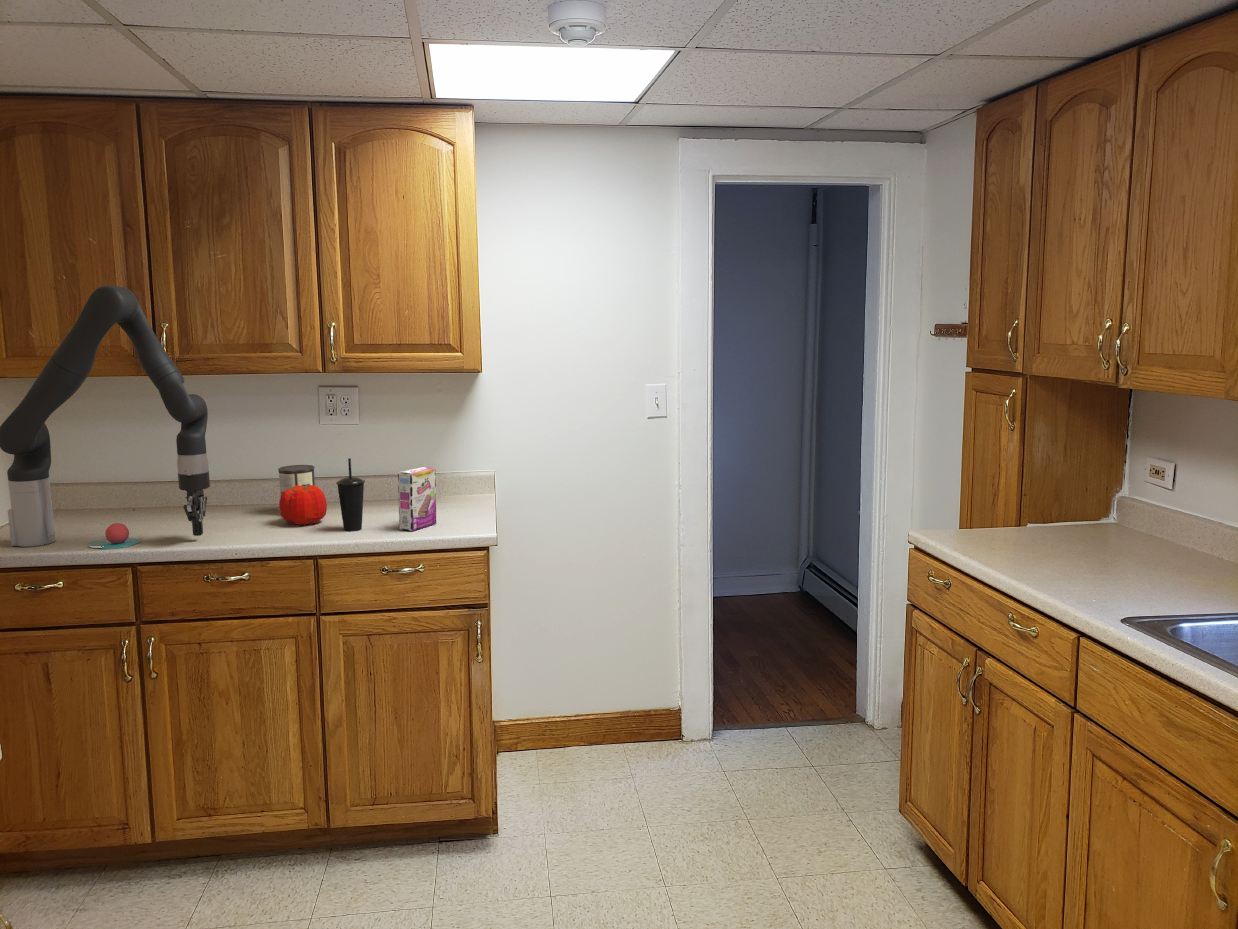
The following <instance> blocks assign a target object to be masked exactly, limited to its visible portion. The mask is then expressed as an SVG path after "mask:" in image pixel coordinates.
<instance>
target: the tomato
mask: <svg viewBox="0 0 1238 929" xmlns="http://www.w3.org/2000/svg"><path fill="white" fill-rule="evenodd" d="M278 503H279V504H278V506H279V514H280V515H281V518H282V519H283V520H284V521H286V522H287V523H289V524H296V525H299V526H304V525H305V526H306V525H307V524H311V525H312V524H316V523H318V522H320V521H321V520H323V519H324V518H325V516H326V514H327V511H328V503H327V498H326V496H325V494H324V492H323V491H322V489H321V488H320V487H318V486H316V485H315V486H313V485H309V486H308V487H306V486H300V485H297V486H295V487H292V488H290V489H287V490H285V491H283V493H282V494H281V495H280V496H279V502H278Z"/></svg>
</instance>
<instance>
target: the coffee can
mask: <svg viewBox="0 0 1238 929" xmlns="http://www.w3.org/2000/svg"><path fill="white" fill-rule="evenodd" d="M315 477H316V476H315V466H314V465H310V464H296V465H295V464H292V465H285V466H284V465H283V466H280V467H279V468H278V478H279V493H280V496H281V494H282V493H283V491H285V490H287V489H290V488H292V487H295V486H297V485H300V486H306V487H308V486H309V485H313V486H316V481H315V480H316V479H315Z"/></svg>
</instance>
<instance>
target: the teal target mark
mask: <svg viewBox="0 0 1238 929" xmlns="http://www.w3.org/2000/svg"><path fill="white" fill-rule="evenodd" d="M140 542H141V540H140V538H136V537H128V538H127V540H126V541H125V542H123V543H120V544H113V543H111V542H109V541H108V540H107V538H106V539H101V540H97V541H93V542H91V543H89V544H88V546H101V547H102V546H104V547H102V549H101V550H113V548H115V549H122V548H126V547H127V546H128V547H131V546H135V545H137V544H139V543H140ZM110 548H112V549H110Z"/></svg>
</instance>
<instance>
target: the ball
mask: <svg viewBox="0 0 1238 929" xmlns="http://www.w3.org/2000/svg"><path fill="white" fill-rule="evenodd" d="M104 534H105V537H106V539H107V540H108V541H109V542H111V543H113V544H120V543H123V542H125V541H126V540H127V538H130V537H129V535H130V530H129V528H128V527H127V525H125V523H120V522H115V523H112V524H110V525H109V526H108V527H107V528H106V530H105V533H104Z"/></svg>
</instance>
